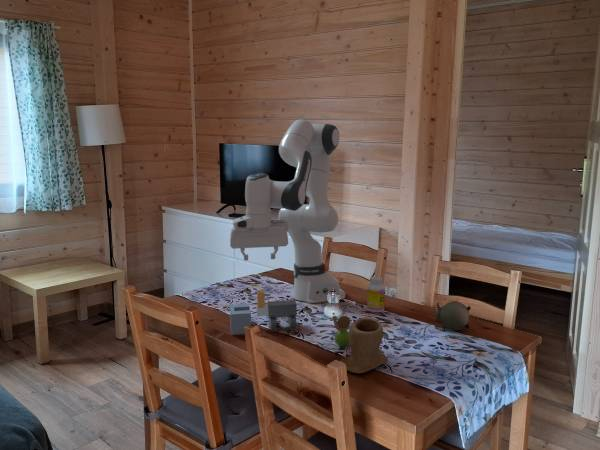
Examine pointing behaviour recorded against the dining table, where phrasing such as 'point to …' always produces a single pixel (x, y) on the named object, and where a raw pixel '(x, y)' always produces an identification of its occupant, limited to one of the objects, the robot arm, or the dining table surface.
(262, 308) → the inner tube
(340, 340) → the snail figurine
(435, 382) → the dining table surface
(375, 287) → the supplement bottle
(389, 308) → the dining table surface
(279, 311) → the grey arch block
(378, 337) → the stone cup
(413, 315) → the dining table surface
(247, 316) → the cradle socket
